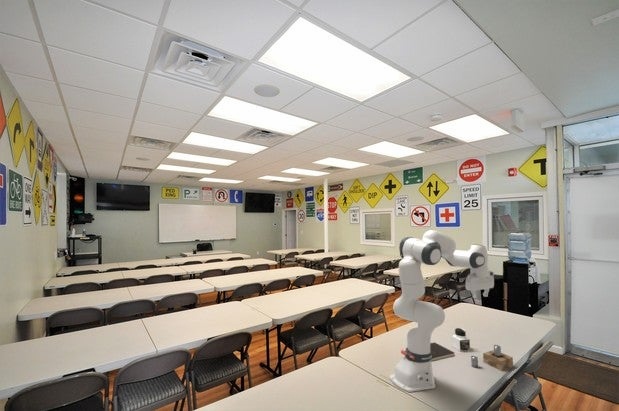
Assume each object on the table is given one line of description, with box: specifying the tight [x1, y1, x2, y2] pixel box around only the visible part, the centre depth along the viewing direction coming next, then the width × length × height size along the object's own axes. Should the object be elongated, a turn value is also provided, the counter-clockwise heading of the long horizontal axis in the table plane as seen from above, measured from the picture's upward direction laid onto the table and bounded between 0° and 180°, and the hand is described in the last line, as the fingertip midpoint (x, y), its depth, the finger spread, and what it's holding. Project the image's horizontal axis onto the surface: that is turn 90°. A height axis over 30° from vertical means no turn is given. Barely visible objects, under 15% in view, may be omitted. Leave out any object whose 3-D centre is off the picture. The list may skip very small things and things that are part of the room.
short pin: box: [470, 355, 479, 369], centre depth 151 cm, size 3×3×5 cm
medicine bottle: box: [451, 327, 471, 352], centre depth 173 cm, size 7×7×12 cm
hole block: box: [482, 349, 514, 372], centre depth 154 cm, size 10×10×5 cm
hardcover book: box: [405, 342, 455, 362], centre depth 167 cm, size 16×23×2 cm
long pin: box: [493, 344, 502, 358], centre depth 154 cm, size 3×3×10 cm
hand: (480, 297), depth 157 cm, fingers open, 8 cm apart
